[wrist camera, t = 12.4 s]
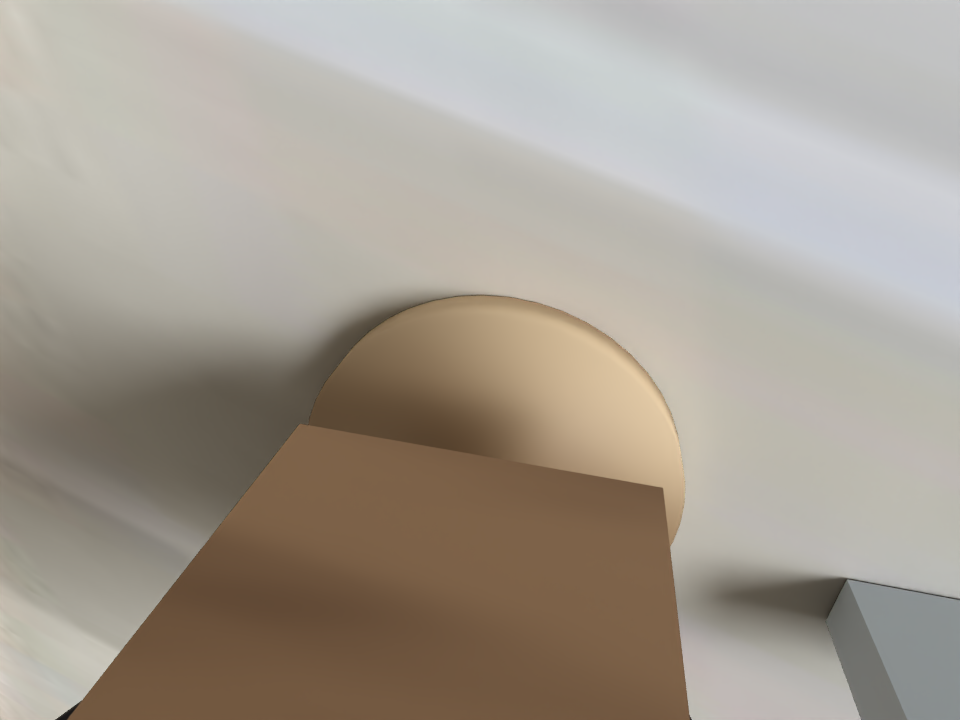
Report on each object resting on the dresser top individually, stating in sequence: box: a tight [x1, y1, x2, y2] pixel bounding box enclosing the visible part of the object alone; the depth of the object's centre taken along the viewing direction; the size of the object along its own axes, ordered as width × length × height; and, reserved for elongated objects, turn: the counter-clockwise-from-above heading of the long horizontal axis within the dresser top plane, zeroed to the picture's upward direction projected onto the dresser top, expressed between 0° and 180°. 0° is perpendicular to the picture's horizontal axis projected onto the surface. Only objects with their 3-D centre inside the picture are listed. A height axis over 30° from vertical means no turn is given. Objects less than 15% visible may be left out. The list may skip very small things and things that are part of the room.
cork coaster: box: [308, 295, 685, 546], centre depth 12 cm, size 7×7×1 cm
